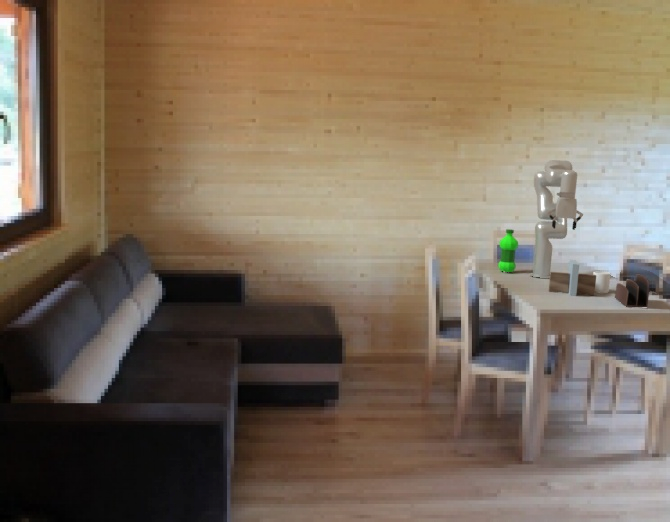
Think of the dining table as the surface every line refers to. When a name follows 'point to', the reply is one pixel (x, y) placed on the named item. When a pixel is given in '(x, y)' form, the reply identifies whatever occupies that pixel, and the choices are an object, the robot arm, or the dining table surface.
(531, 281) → the dining table surface
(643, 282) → the letter holder
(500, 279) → the dining table surface
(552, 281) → the slotted board
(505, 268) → the plastic bottle
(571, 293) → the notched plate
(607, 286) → the cup
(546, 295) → the dining table surface
